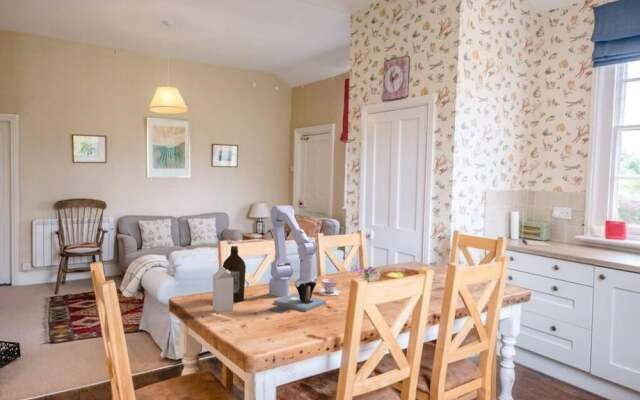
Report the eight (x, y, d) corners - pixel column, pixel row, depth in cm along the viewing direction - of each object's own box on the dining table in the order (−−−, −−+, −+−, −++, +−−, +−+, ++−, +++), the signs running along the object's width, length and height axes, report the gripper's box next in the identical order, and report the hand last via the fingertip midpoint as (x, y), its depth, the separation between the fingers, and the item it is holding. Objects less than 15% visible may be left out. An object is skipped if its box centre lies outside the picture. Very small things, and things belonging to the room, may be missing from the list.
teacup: (345, 292, 223) (345, 280, 223) (333, 297, 213) (334, 285, 213) (325, 288, 230) (325, 276, 229) (312, 293, 219) (313, 281, 219)
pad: (266, 311, 188) (266, 309, 188) (278, 307, 195) (278, 305, 195) (280, 315, 184) (280, 313, 184) (292, 311, 190) (292, 308, 190)
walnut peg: (299, 304, 196) (299, 286, 195) (304, 302, 199) (304, 284, 199) (306, 305, 194) (307, 287, 193) (311, 303, 197) (312, 286, 196)
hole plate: (274, 305, 197) (274, 300, 197) (294, 298, 209) (294, 292, 209) (306, 314, 187) (306, 307, 187) (326, 305, 199) (326, 299, 199)
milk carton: (216, 314, 183) (216, 269, 182) (212, 309, 190) (212, 266, 188) (233, 312, 187) (233, 268, 185) (228, 307, 193) (228, 265, 192)
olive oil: (225, 295, 211) (226, 244, 210) (247, 296, 210) (248, 245, 209) (219, 302, 201) (219, 248, 199) (242, 303, 200) (242, 248, 198)
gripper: (303, 273, 187) (302, 304, 188) (323, 267, 199) (322, 297, 200) (290, 271, 191) (290, 301, 192) (310, 265, 203) (309, 294, 204)
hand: (305, 299), depth 196 cm, fingers closed on walnut peg, 4 cm apart
